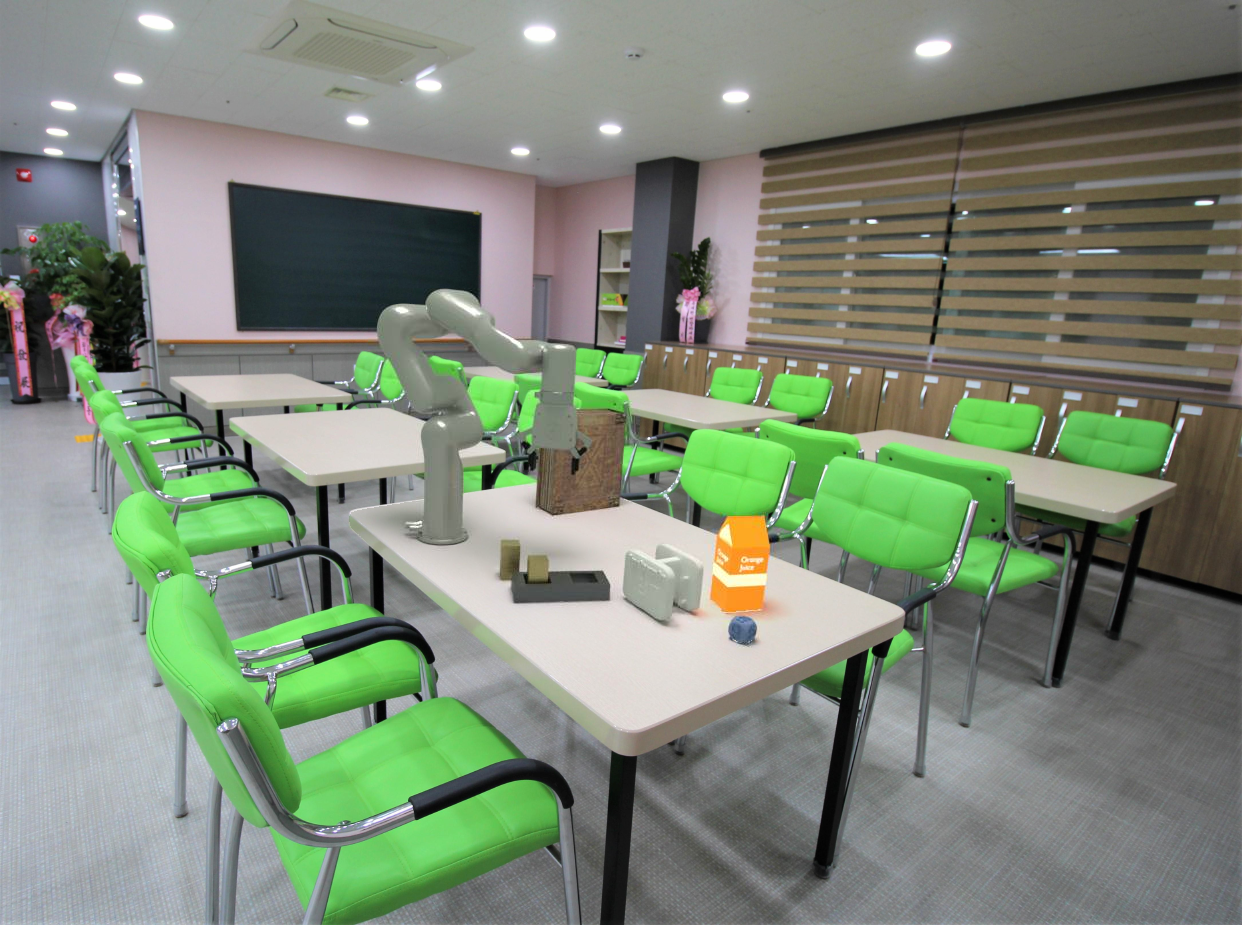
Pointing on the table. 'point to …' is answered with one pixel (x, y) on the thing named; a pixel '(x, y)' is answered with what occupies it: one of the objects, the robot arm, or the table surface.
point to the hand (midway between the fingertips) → (553, 471)
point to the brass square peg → (509, 558)
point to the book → (584, 467)
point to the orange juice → (740, 564)
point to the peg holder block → (557, 583)
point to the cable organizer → (663, 580)
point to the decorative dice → (742, 629)
